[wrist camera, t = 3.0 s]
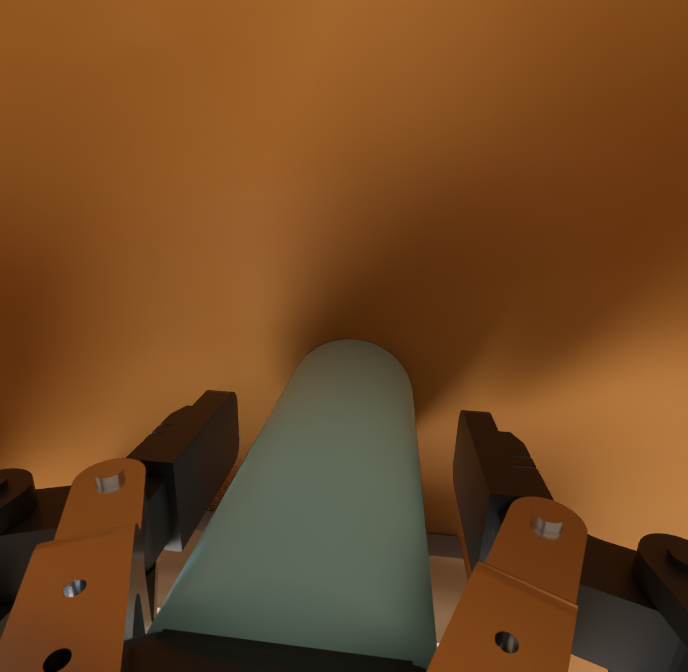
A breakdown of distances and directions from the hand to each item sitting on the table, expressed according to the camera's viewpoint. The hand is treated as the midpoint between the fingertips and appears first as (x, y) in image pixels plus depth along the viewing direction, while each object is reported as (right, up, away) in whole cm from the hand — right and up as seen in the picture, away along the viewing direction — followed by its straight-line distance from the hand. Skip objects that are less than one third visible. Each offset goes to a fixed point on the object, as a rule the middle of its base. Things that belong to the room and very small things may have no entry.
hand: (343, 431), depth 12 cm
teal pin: (0, +1, +2) cm, 2 cm away
